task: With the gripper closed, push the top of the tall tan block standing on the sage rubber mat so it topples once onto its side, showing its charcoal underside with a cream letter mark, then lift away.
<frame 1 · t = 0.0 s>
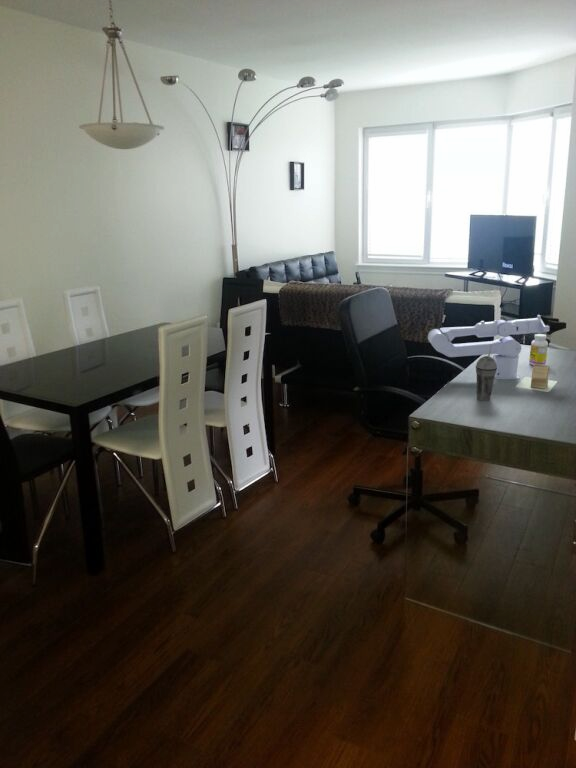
hand: (562, 323, 237), 22 cm above the table, tool horizontal, fingers open, 7 cm apart
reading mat: (536, 384, 234), on the table
beverage cup: (483, 399, 219), on the table
tan block: (539, 386, 231), resting on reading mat
supplement bottle: (537, 364, 262), on the table
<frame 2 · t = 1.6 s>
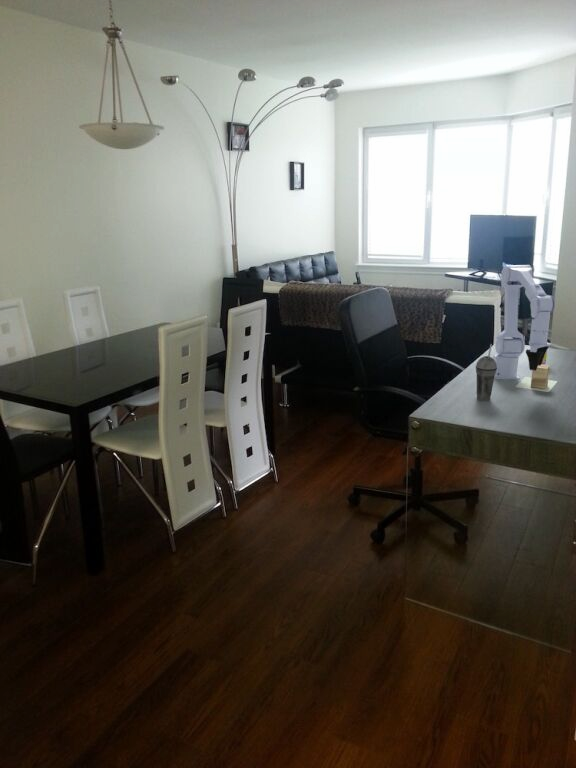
hand: (535, 367, 219), 10 cm above the table, tool pointing down, fingers open, 7 cm apart
nothing on the table moved.
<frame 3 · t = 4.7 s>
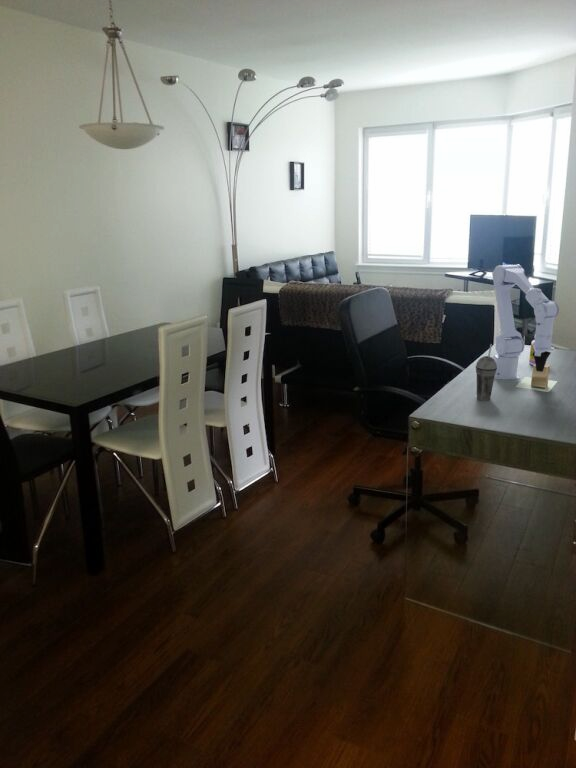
hand: (539, 371, 227), 7 cm above the table, tool pointing down, fingers closed
tan block: (539, 386, 231), resting on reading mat, touching gripper
everything else where it was.
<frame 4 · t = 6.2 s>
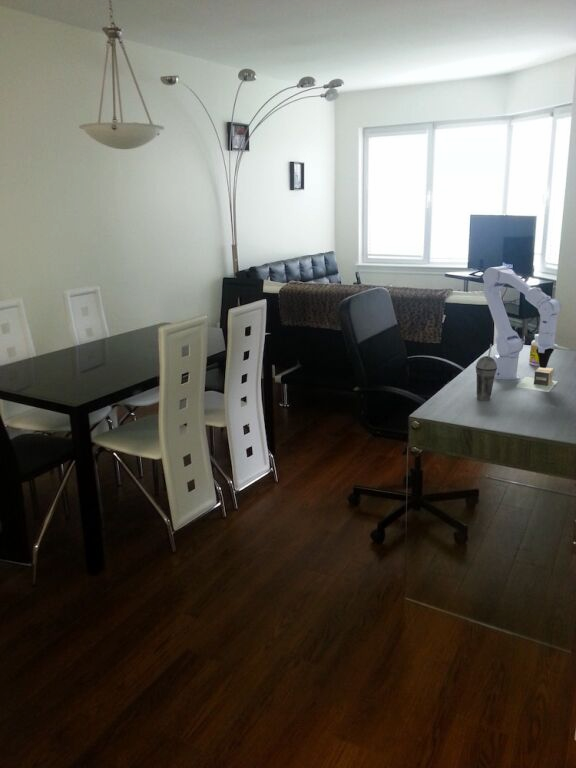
hand: (543, 367, 232), 7 cm above the table, tool pointing down, fingers closed
tan block: (541, 378, 232), point 3 cm above the table, tilted 90°, touching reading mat
everything else where it was.
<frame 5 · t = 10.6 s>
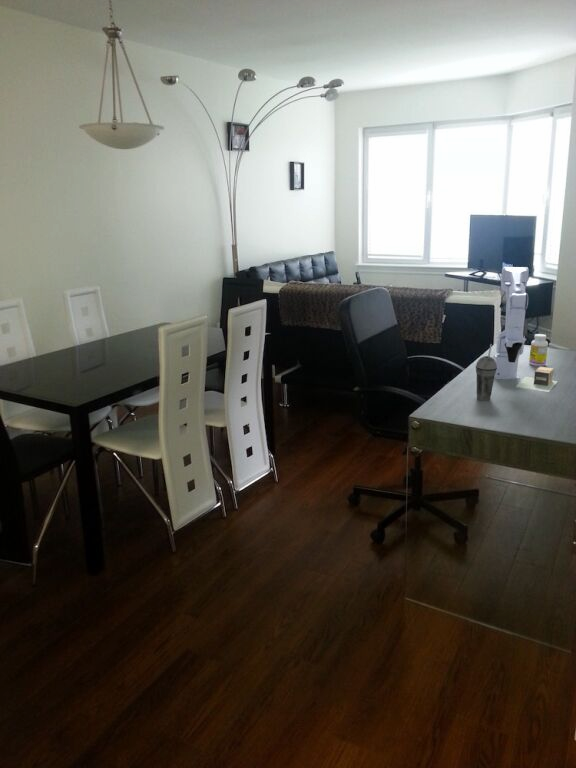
hand: (511, 361, 229), 10 cm above the table, tool pointing down, fingers closed
nothing on the table moved.
at the end: tan block tilted 90°; tan block inside the target area on the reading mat (0.7 cm from its centre), point 2.8 cm above the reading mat's base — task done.
